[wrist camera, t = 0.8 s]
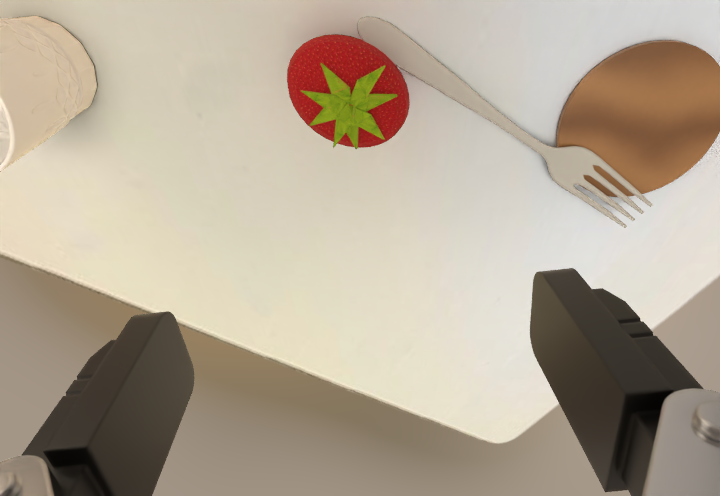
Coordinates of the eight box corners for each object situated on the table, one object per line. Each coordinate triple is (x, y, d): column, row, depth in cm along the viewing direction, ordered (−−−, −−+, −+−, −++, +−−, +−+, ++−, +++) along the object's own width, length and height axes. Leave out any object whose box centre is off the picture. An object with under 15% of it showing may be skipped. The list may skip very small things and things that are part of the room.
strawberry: (323, -2, 30) (299, 22, 22) (424, 60, 32) (438, 103, 23) (286, 82, 33) (251, 131, 25) (380, 134, 35) (378, 196, 26)
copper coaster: (558, 57, 31) (561, 58, 31) (741, 24, 30) (747, 25, 29) (554, 203, 37) (555, 206, 37) (706, 182, 36) (710, 185, 35)
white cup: (56, 141, 36) (-43, 203, 28) (-35, 46, 33) (-180, 83, 24) (129, 89, 34) (44, 139, 25) (39, -21, 30) (-94, -5, 22)
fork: (372, -3, 30) (370, 1, 28) (648, 190, 35) (658, 201, 34) (346, 43, 31) (343, 49, 30) (613, 220, 37) (622, 233, 35)
